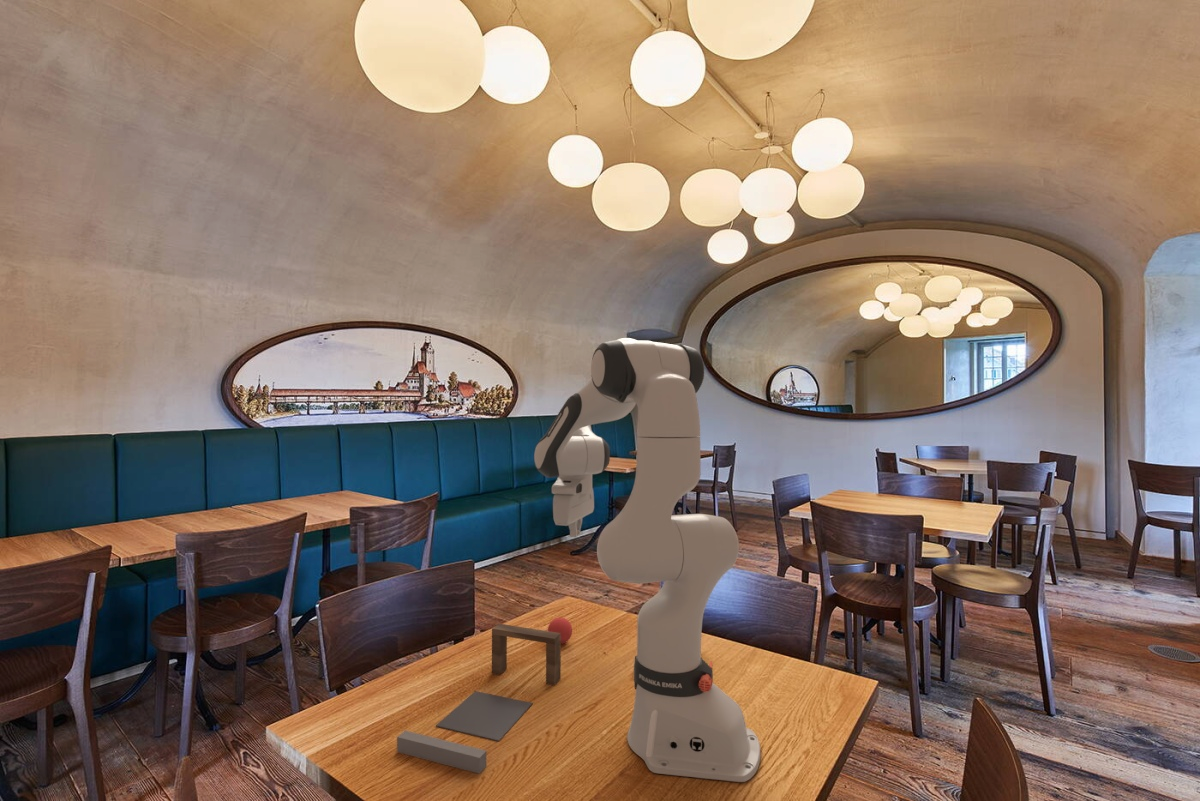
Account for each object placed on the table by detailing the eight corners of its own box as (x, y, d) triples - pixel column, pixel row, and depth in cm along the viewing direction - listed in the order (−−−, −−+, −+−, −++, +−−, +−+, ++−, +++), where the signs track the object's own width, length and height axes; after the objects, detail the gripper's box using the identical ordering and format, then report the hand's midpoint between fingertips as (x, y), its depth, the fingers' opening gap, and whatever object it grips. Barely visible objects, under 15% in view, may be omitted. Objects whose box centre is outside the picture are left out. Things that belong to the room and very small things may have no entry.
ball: (575, 639, 139) (576, 615, 139) (566, 649, 133) (566, 624, 133) (553, 636, 141) (554, 612, 141) (543, 645, 135) (543, 621, 135)
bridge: (498, 667, 124) (499, 623, 124) (560, 678, 119) (560, 633, 119) (491, 673, 121) (491, 628, 121) (554, 685, 116) (554, 638, 116)
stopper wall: (486, 766, 90) (486, 750, 90) (479, 773, 88) (479, 757, 88) (404, 745, 95) (405, 730, 95) (397, 751, 94) (397, 736, 94)
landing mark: (532, 703, 109) (532, 702, 109) (498, 741, 97) (498, 740, 97) (475, 691, 113) (475, 690, 113) (435, 726, 101) (435, 725, 101)
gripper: (578, 477, 157) (578, 527, 157) (548, 487, 138) (548, 543, 138) (599, 478, 155) (599, 528, 155) (572, 489, 136) (572, 546, 135)
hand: (575, 536), depth 146 cm, fingers closed
